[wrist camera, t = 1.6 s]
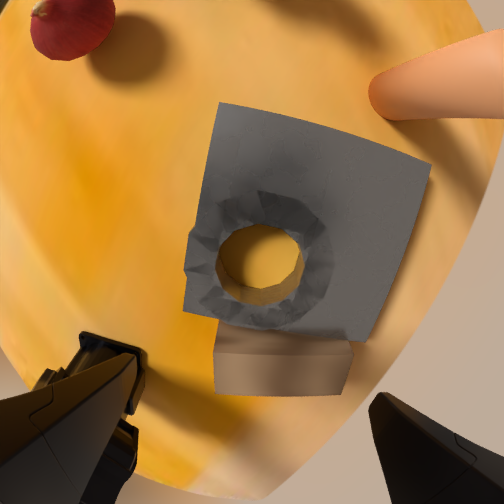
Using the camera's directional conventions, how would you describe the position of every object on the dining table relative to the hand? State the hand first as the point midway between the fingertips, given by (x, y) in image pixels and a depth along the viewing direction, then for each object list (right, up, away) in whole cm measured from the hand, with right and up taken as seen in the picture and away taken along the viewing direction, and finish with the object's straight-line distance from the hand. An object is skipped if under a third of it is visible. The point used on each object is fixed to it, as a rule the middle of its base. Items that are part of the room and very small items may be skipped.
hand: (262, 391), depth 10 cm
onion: (-12, +21, +6) cm, 25 cm away
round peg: (+9, +16, +8) cm, 20 cm away
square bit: (+2, -3, +15) cm, 16 cm away
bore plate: (+3, +6, +11) cm, 13 cm away
